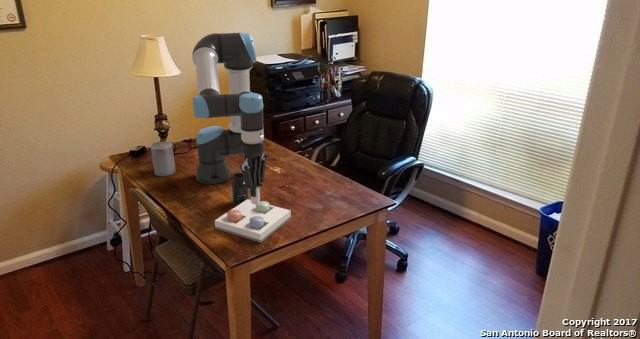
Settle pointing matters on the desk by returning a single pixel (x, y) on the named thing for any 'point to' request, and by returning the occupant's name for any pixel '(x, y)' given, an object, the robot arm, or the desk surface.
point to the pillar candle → (163, 158)
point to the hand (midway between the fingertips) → (255, 203)
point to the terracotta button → (234, 216)
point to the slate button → (256, 222)
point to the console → (242, 228)
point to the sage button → (262, 207)
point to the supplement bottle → (239, 189)
